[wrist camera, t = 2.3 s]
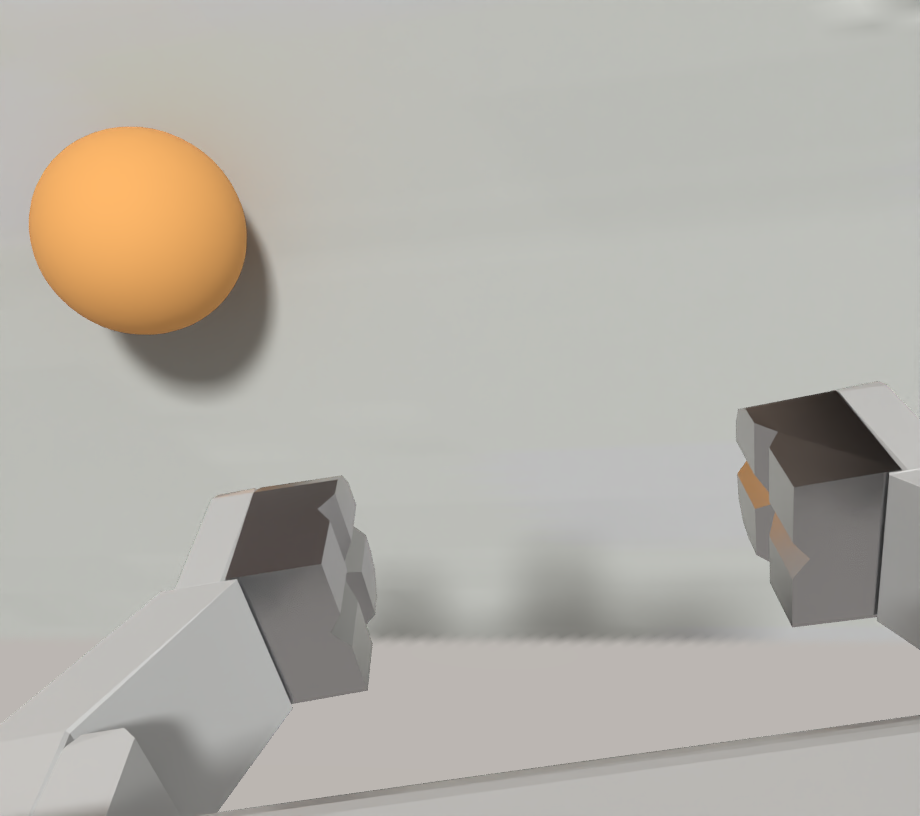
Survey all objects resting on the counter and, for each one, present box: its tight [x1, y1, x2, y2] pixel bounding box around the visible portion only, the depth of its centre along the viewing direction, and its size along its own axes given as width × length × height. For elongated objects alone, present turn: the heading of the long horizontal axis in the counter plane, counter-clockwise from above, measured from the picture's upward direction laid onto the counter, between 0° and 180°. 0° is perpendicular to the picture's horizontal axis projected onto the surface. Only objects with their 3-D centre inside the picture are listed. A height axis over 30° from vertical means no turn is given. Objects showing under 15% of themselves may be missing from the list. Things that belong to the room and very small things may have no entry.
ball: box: [29, 127, 247, 335], centre depth 23 cm, size 6×6×6 cm
